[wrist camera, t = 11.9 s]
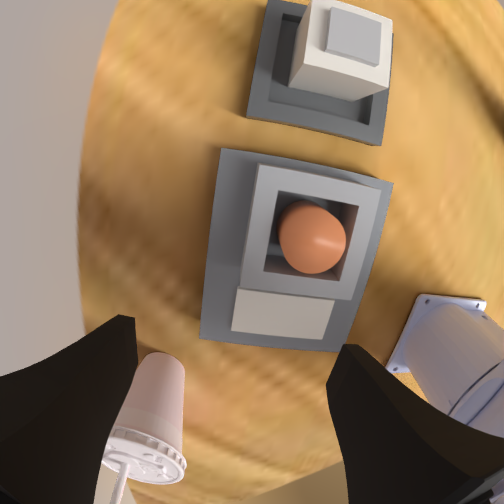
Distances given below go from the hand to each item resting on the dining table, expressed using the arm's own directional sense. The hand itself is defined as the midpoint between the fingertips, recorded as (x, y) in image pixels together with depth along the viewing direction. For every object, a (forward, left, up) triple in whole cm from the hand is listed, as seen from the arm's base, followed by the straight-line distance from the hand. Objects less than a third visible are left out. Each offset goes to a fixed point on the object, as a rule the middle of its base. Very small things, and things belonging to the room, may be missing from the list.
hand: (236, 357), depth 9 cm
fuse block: (-3, -13, -10) cm, 16 cm away
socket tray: (-3, -13, -10) cm, 16 cm away
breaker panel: (-3, -1, -10) cm, 10 cm away
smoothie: (+5, +11, -10) cm, 16 cm away
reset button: (-3, -3, -7) cm, 9 cm away
